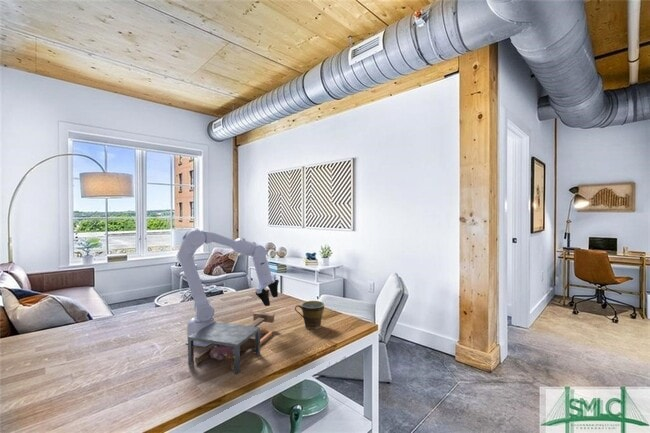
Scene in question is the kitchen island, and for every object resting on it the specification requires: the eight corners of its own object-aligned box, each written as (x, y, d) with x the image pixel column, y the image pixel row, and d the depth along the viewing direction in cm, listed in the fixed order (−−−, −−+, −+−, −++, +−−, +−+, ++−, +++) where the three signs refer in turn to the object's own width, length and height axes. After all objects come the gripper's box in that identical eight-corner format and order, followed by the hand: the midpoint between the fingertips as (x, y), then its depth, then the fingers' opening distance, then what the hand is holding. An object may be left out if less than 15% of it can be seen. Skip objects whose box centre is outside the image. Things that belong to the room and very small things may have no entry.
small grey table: (188, 364, 101) (187, 336, 101) (215, 346, 115) (214, 321, 114) (237, 374, 96) (237, 344, 95) (260, 353, 109) (259, 327, 109)
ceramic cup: (325, 322, 138) (325, 301, 137) (323, 332, 128) (323, 308, 127) (297, 321, 139) (297, 300, 139) (292, 330, 129) (292, 307, 129)
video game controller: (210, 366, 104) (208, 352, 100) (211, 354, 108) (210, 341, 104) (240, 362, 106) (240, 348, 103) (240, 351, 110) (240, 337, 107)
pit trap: (225, 345, 116) (225, 341, 116) (245, 330, 129) (245, 327, 129) (255, 349, 112) (255, 345, 112) (273, 334, 125) (273, 330, 125)
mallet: (195, 363, 102) (195, 345, 102) (249, 325, 134) (249, 311, 134) (234, 370, 97) (233, 351, 97) (280, 329, 130) (280, 314, 130)
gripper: (263, 277, 121) (272, 309, 123) (278, 264, 135) (286, 292, 137) (248, 279, 123) (257, 310, 126) (265, 266, 137) (272, 293, 139)
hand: (271, 301), depth 131 cm, fingers open, 7 cm apart
